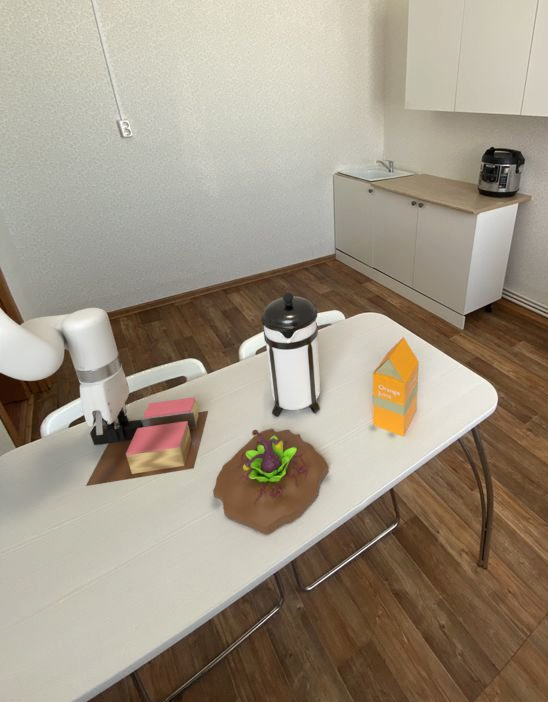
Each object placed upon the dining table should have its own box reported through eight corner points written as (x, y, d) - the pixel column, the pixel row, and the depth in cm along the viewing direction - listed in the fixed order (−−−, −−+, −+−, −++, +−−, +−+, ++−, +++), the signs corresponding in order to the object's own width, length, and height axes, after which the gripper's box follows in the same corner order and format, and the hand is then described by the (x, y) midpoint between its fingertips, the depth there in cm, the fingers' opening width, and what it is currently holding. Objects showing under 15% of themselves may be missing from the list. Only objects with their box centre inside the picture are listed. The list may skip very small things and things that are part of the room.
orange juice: (416, 410, 93) (420, 340, 86) (403, 437, 85) (406, 362, 78) (387, 400, 96) (388, 332, 89) (372, 424, 89) (371, 352, 82)
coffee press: (341, 395, 98) (337, 290, 87) (291, 432, 87) (279, 317, 77) (299, 366, 109) (291, 270, 99) (250, 396, 98) (235, 291, 88)
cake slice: (148, 435, 86) (143, 416, 84) (154, 421, 89) (149, 403, 87) (195, 428, 87) (191, 409, 85) (198, 415, 91) (195, 397, 89)
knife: (94, 445, 83) (88, 429, 81) (98, 438, 85) (93, 422, 83) (195, 430, 86) (192, 415, 85) (197, 423, 88) (194, 408, 86)
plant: (273, 556, 63) (266, 508, 59) (199, 496, 73) (189, 452, 69) (342, 465, 79) (340, 423, 75) (273, 426, 89) (269, 387, 85)
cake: (86, 489, 75) (77, 465, 72) (119, 426, 89) (113, 404, 87) (194, 472, 78) (189, 448, 76) (209, 413, 93) (204, 392, 91)
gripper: (97, 346, 85) (116, 412, 91) (56, 396, 70) (83, 470, 76) (133, 342, 86) (150, 407, 92) (101, 391, 71) (124, 464, 78)
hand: (119, 435), depth 84 cm, fingers closed on knife, 2 cm apart
